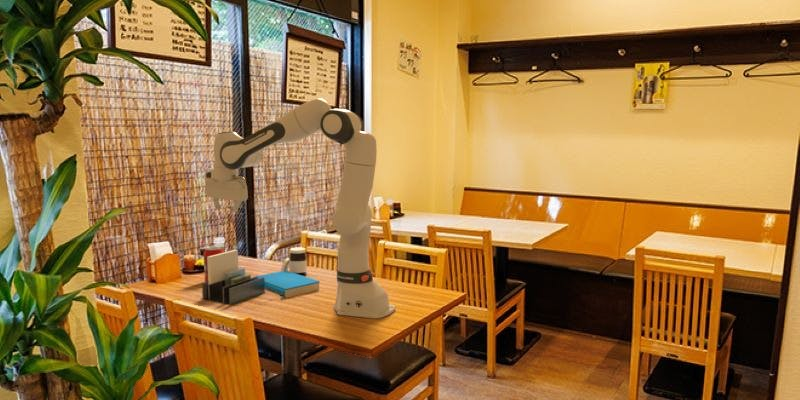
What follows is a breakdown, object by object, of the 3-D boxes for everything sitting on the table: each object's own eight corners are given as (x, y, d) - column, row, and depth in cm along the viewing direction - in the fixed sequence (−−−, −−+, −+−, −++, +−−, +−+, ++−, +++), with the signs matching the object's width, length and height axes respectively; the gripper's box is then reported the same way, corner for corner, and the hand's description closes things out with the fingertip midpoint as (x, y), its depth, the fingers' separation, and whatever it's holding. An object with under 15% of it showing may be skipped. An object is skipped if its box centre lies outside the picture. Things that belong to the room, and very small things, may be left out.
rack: (266, 295, 213) (265, 270, 211) (232, 308, 197) (231, 281, 196) (235, 290, 220) (234, 265, 219) (200, 301, 204) (199, 275, 203)
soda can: (218, 285, 227) (217, 250, 225) (201, 284, 228) (199, 249, 226) (227, 280, 234) (226, 246, 233) (210, 279, 236) (209, 245, 234)
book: (285, 270, 239) (320, 280, 221) (285, 279, 239) (320, 290, 222) (250, 277, 227) (284, 288, 209) (250, 287, 227) (284, 299, 210)
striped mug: (307, 276, 242) (307, 250, 240) (281, 277, 239) (280, 251, 238) (305, 270, 253) (305, 245, 252) (281, 271, 251) (280, 246, 249)
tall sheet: (239, 289, 216) (237, 250, 215) (211, 298, 204) (210, 257, 202) (236, 289, 217) (234, 249, 215) (208, 298, 205) (207, 256, 203)
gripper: (251, 176, 203) (251, 212, 204) (215, 172, 213) (215, 207, 215) (238, 177, 197) (238, 214, 199) (201, 173, 208) (202, 208, 210)
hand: (226, 210), depth 207 cm, fingers open, 8 cm apart
